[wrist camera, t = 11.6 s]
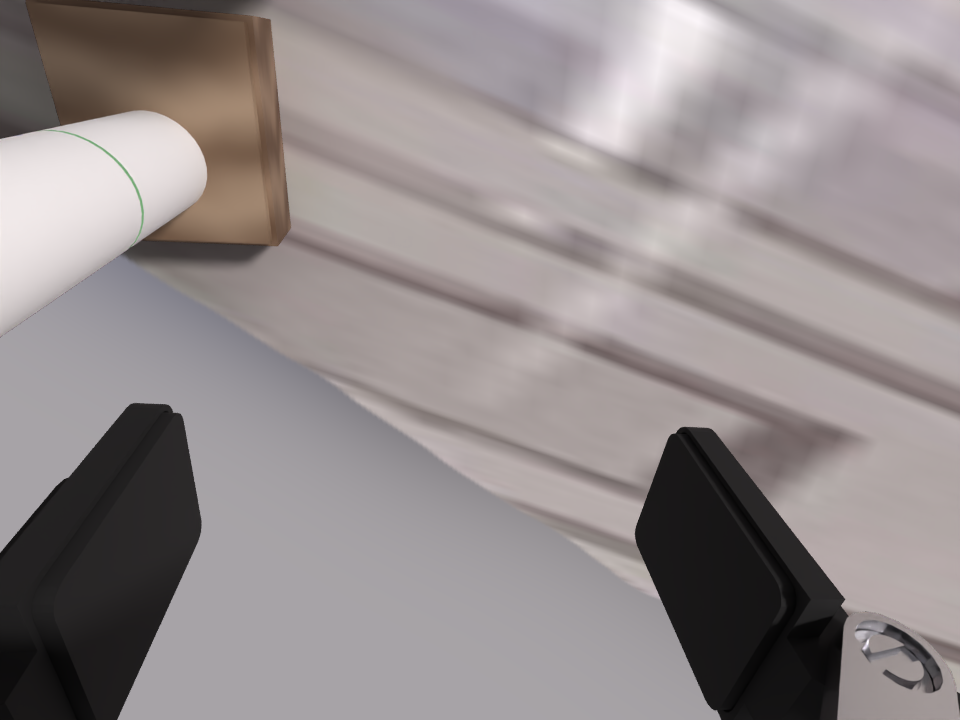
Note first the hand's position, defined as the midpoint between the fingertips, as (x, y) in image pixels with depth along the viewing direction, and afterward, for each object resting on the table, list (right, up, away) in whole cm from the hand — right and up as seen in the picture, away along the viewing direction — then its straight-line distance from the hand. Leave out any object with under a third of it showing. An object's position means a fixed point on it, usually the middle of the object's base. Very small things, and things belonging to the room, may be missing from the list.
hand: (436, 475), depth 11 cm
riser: (-23, +21, +33) cm, 45 cm away
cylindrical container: (-23, +17, +29) cm, 41 cm away
